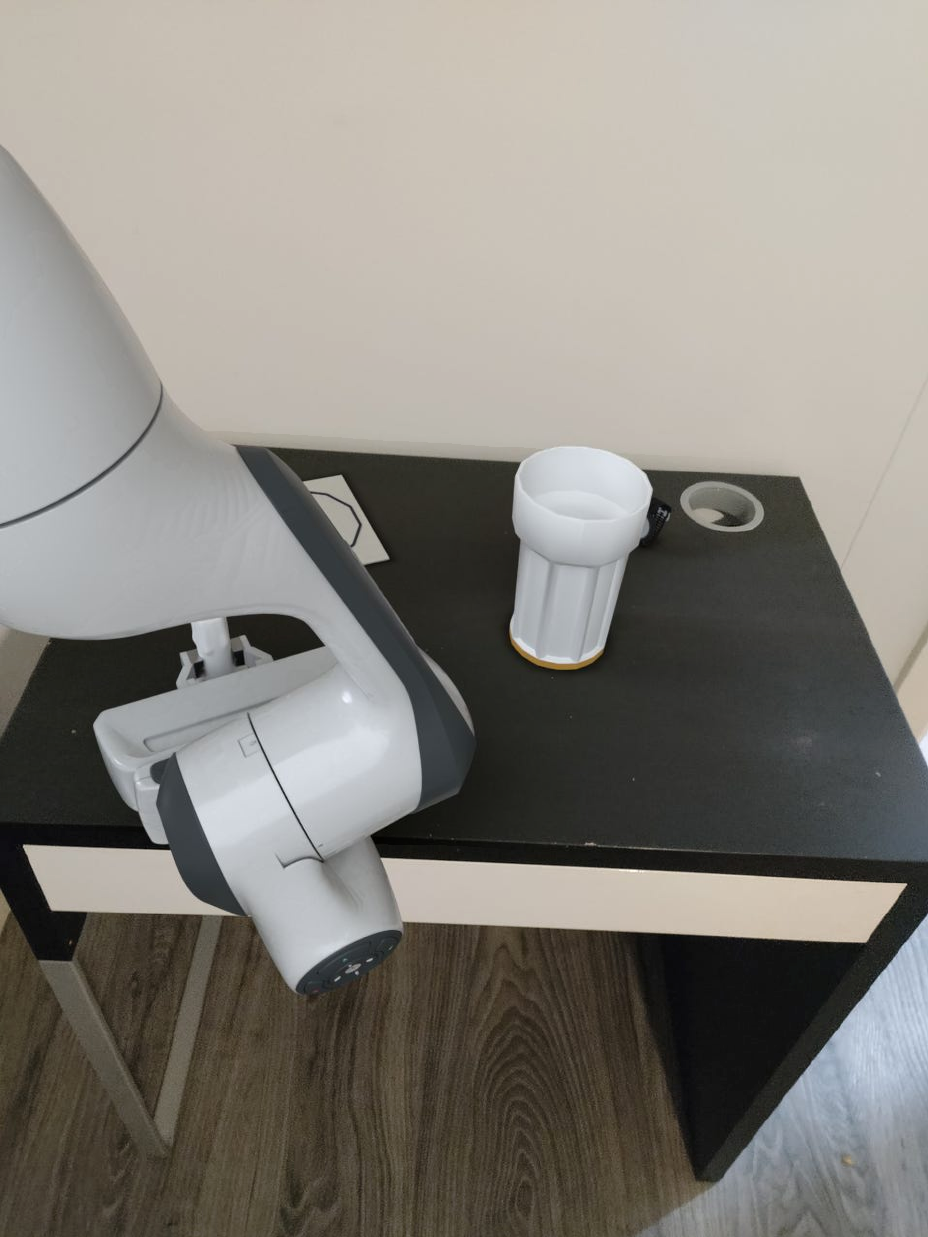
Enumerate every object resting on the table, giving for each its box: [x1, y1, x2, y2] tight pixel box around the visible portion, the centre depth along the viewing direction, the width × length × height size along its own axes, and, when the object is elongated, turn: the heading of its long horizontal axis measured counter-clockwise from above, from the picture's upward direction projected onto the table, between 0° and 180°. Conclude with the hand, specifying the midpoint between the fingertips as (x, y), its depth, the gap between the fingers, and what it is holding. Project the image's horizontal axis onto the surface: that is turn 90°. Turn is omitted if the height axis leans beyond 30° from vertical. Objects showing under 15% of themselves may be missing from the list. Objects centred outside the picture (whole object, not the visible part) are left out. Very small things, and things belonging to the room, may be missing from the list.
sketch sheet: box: [302, 474, 390, 566], centre depth 97 cm, size 20×16×1 cm
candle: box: [190, 617, 249, 683], centre depth 74 cm, size 5×5×12 cm
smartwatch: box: [638, 496, 673, 547], centre depth 98 cm, size 4×5×5 cm
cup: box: [509, 445, 654, 671], centre depth 82 cm, size 11×11×17 cm
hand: (212, 649), depth 74 cm, fingers closed on candle, 2 cm apart
